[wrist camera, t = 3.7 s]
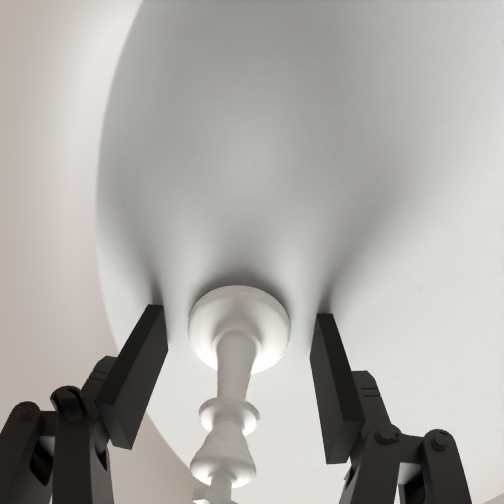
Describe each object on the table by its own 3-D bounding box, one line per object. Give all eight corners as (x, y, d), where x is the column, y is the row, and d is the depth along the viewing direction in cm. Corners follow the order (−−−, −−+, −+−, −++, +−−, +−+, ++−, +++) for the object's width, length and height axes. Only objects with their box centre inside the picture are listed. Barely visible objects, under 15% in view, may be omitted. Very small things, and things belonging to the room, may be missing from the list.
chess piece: (251, 264, 14) (233, 478, 5) (308, 339, 16) (338, 531, 6) (168, 316, 15) (92, 497, 6) (229, 379, 17) (207, 552, 7)
